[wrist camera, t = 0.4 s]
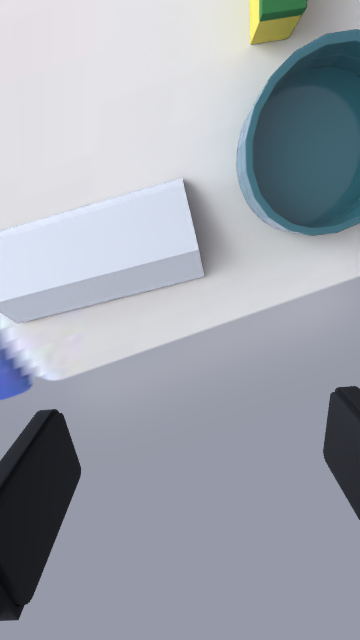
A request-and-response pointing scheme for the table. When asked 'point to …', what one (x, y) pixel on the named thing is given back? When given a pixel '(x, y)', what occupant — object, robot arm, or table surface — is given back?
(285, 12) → the sponge
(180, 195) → the crown molding
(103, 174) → the table surface
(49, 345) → the table surface
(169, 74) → the table surface
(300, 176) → the bowl
